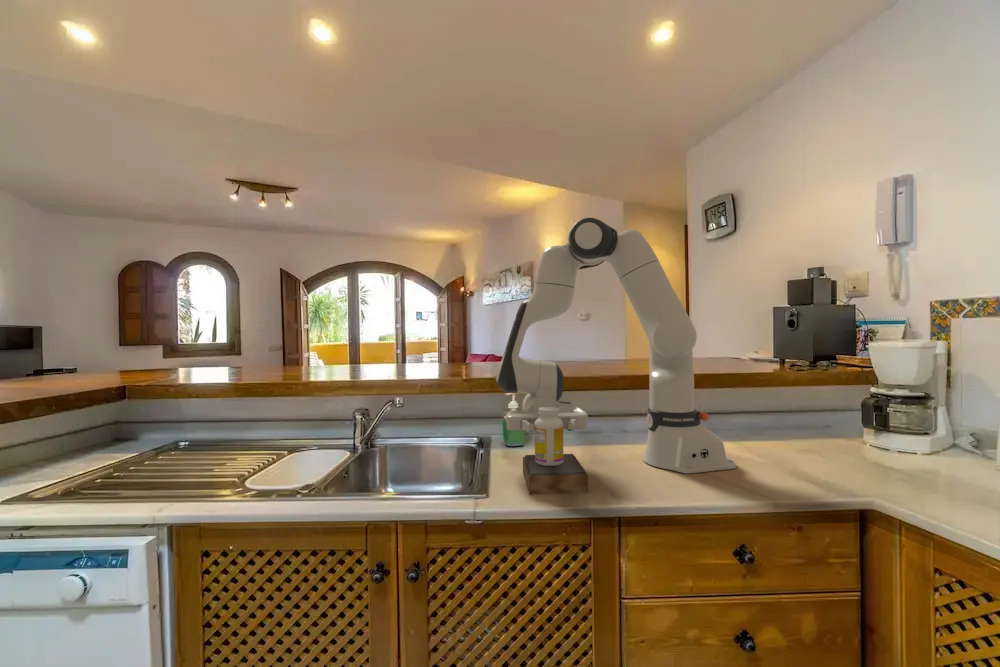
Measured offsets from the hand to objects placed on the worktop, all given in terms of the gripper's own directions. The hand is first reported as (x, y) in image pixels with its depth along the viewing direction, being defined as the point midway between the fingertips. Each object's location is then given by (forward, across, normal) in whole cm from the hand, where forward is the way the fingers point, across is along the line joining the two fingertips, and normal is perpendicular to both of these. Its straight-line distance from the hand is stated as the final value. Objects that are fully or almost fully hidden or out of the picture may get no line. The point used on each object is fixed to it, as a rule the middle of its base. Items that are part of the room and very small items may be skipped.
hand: (551, 427), depth 105 cm
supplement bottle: (-1, 0, +9) cm, 9 cm away
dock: (-1, 0, +13) cm, 13 cm away
